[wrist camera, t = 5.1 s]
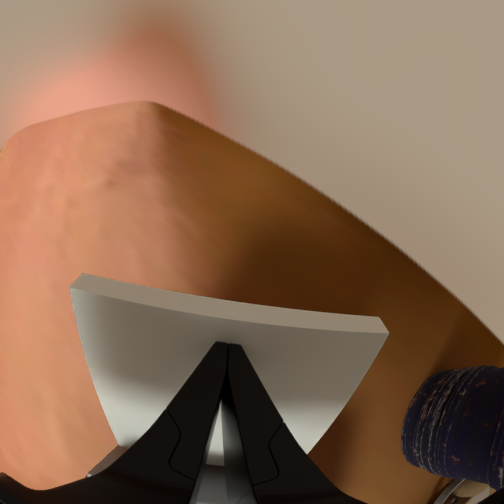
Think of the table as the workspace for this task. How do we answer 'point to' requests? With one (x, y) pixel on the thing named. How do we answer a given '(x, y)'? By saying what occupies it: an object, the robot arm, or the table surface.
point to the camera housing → (212, 484)
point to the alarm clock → (464, 492)
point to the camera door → (198, 344)
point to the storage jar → (458, 425)
